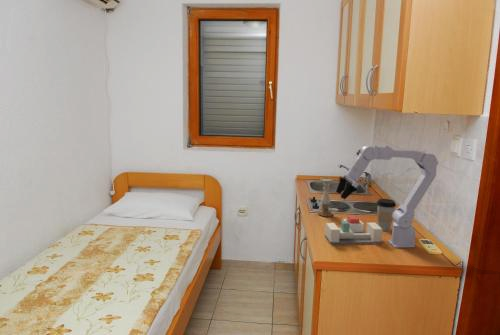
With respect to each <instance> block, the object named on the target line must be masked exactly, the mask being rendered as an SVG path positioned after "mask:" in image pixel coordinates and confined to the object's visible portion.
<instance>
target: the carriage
mask: <svg viewBox="0 0 500 335" xmlns="http://www.w3.org/2000/svg"><path fill="white" fill-rule="evenodd" d="M349 227H350V223H349V222H348V221H343V220H342V221H341V224H340V227H338V228H339V229H340V234H339V238H340V239H341V238H352V236H354V233H353V232H352V231H351V230H350V229H349Z"/></svg>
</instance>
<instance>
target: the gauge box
mask: <svg viewBox="0 0 500 335" xmlns="http://www.w3.org/2000/svg"><path fill="white" fill-rule="evenodd" d="M342 221H348V218H342ZM364 227H365V223H363V221H362V220H360V219H359V223H358V224H350V227H349V229H350V230H351V231H352V232H353V233H364V229H365V228H364Z"/></svg>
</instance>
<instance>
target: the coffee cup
mask: <svg viewBox="0 0 500 335" xmlns="http://www.w3.org/2000/svg"><path fill="white" fill-rule="evenodd" d="M375 205H376V206H377V209H376V210H377V214H376V216H377V225H378V226H380V227H381V228H382V232H389V231H390V230H391V228H392V224H393V221H394V220H393V219H392V213H393V212H394V211H395V207H397V204H396V202H395V200H393V199H389V198H379V199H377V201H376V204H375Z"/></svg>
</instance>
